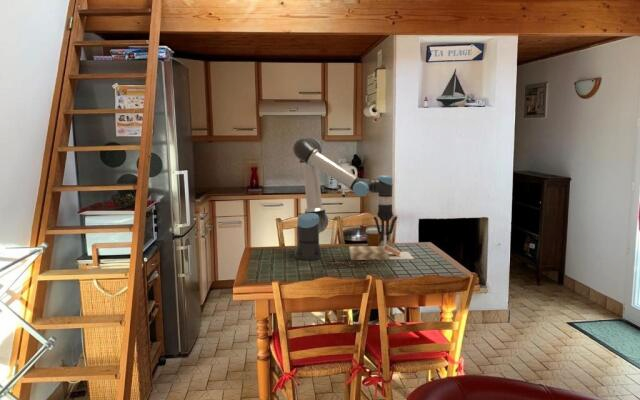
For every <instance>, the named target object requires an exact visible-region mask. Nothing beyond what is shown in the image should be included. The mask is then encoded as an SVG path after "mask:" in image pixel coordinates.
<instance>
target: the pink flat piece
mask: <svg viewBox="0 0 640 400" xmlns="http://www.w3.org/2000/svg"><path fill="white" fill-rule="evenodd" d="M385 249H386V250H387V251H388V252H391V253H393V254H395V255H397V256H399V255H400V252H401V251H400V250H398V249H396V248H394V247H392V246H391V245H389V244H387V245H386V247H385Z"/></svg>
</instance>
